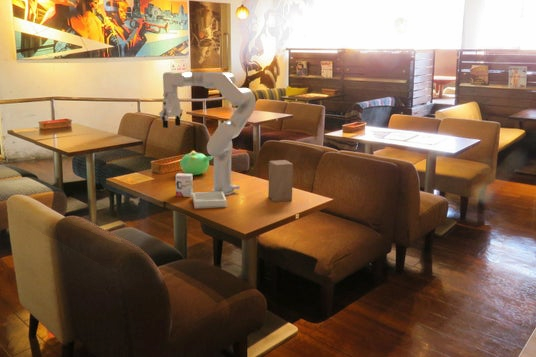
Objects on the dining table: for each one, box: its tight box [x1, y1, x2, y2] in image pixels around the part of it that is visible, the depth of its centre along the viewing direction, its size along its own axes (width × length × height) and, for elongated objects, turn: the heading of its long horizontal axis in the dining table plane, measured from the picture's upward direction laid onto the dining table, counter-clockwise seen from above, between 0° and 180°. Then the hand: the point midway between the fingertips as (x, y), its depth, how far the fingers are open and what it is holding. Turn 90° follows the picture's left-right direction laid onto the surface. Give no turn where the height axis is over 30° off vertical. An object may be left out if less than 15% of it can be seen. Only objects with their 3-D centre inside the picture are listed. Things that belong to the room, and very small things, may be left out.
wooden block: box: [267, 159, 294, 203], centre depth 267 cm, size 10×10×20 cm
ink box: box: [175, 172, 194, 198], centre depth 270 cm, size 9×5×12 cm, turn 90°
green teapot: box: [179, 150, 214, 176], centre depth 314 cm, size 18×17×15 cm
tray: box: [192, 191, 228, 209], centre depth 259 cm, size 16×16×4 cm
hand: (171, 126), depth 279 cm, fingers open, 9 cm apart
